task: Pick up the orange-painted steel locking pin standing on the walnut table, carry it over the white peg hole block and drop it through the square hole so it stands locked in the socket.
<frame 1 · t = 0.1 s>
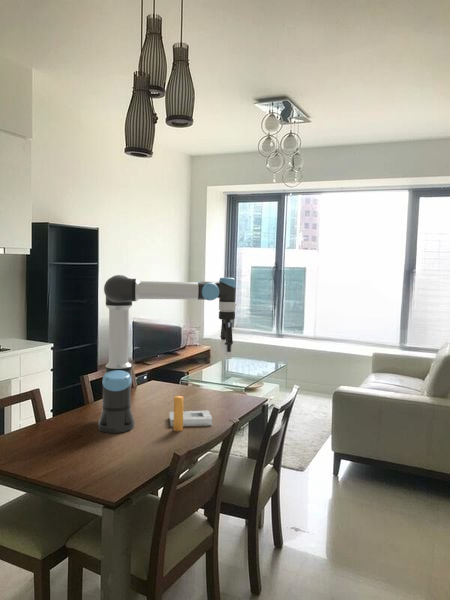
hand: (225, 356, 223), 28 cm above the table, fingers open, 13 cm apart
locking pin: (178, 429, 203), on the table
white peg hole block: (190, 421, 213), on the table
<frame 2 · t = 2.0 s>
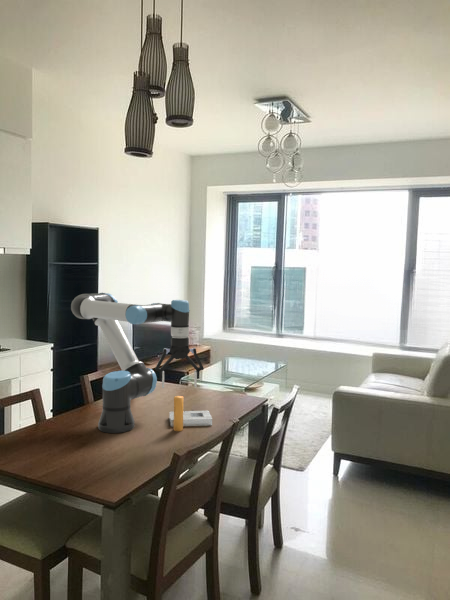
hand: (179, 386, 201), 18 cm above the table, fingers open, 13 cm apart
nothing on the table moved.
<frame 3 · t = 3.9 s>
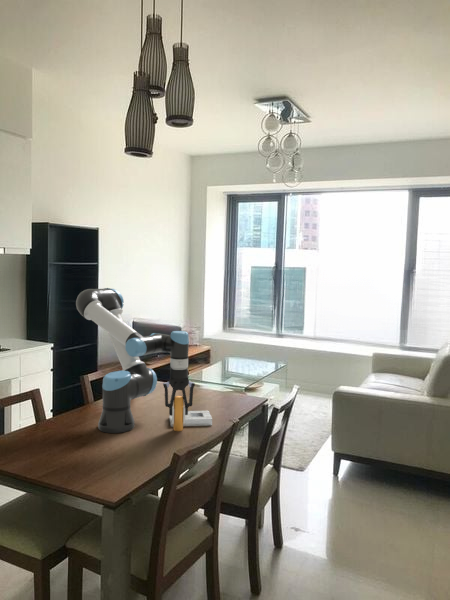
hand: (178, 422, 202), 3 cm above the table, fingers closed on locking pin, 4 cm apart
locking pin: (178, 429, 203), on the table, touching gripper
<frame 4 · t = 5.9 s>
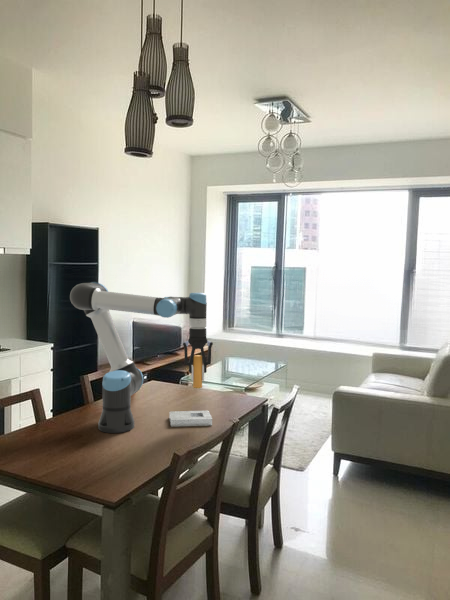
hand: (197, 380, 212), 19 cm above the table, fingers closed on locking pin, 4 cm apart
locking pin: (197, 387, 212), point 16 cm above the table, touching gripper
when the fingers open (4 cm above the table, at t = 8.2 s): locking pin stays where it is, resting in white peg hole block.
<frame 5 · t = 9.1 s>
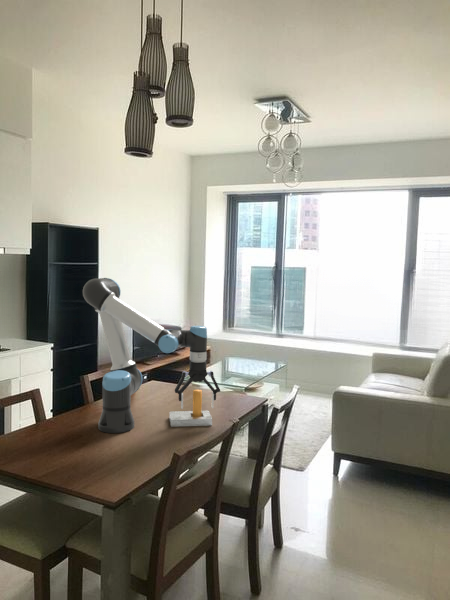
hand: (197, 407, 214), 6 cm above the table, fingers open, 13 cm apart
locking pin: (196, 421, 214), resting in white peg hole block
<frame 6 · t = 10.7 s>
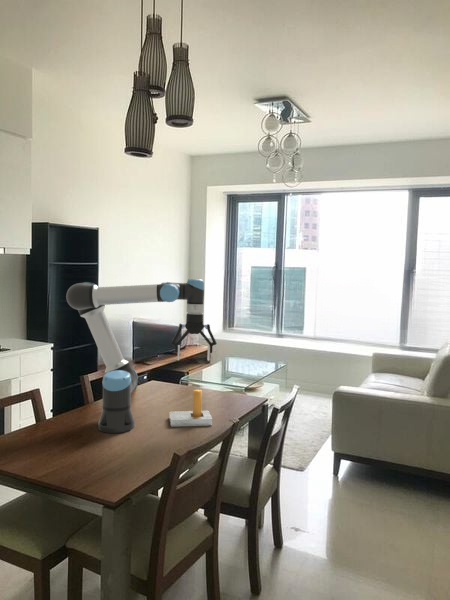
hand: (193, 360, 216), 27 cm above the table, fingers open, 13 cm apart
nothing on the table moved.
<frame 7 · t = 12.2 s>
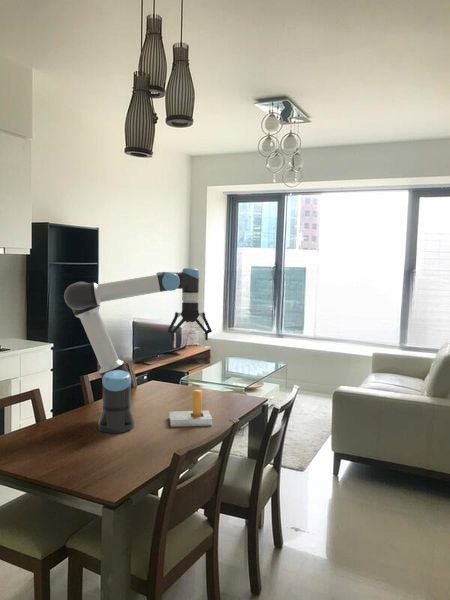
hand: (189, 347, 221), 32 cm above the table, fingers open, 13 cm apart
nothing on the table moved.
at the end: locking pin 0.1 cm from the target spot on the white peg hole block, point 0.0 cm above the white peg hole block's base; locking pin tilted 0°; the gripper is holding nothing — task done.
